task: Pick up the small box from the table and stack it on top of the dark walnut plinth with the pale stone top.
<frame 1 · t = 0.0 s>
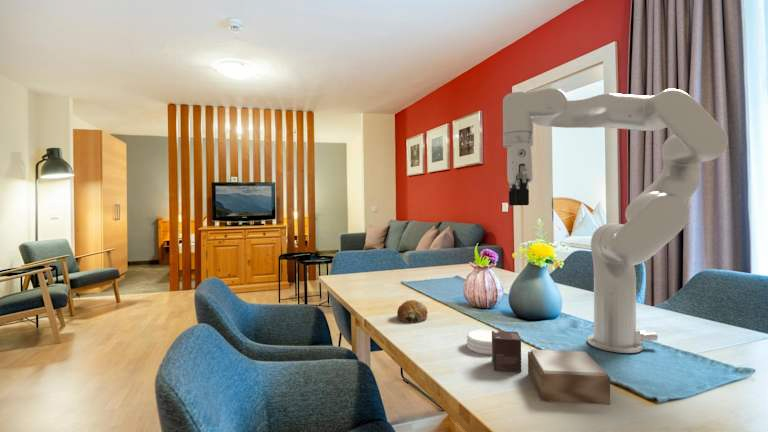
hand: (518, 205, 107), 37 cm above the table, tool pointing down, fingers open, 9 cm apart
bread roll: (412, 320, 132), on the table
coaster: (486, 349, 104), on the table
box: (506, 367, 92), on the table
plinth: (565, 388, 81), on the table
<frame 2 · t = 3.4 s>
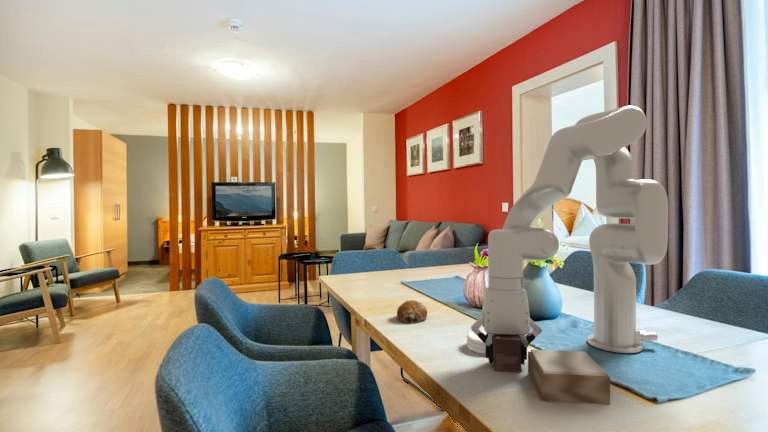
hand: (506, 361, 92), 1 cm above the table, tool pointing down, fingers closed on box, 6 cm apart
box: (506, 367, 92), on the table, touching gripper
everything else where it was.
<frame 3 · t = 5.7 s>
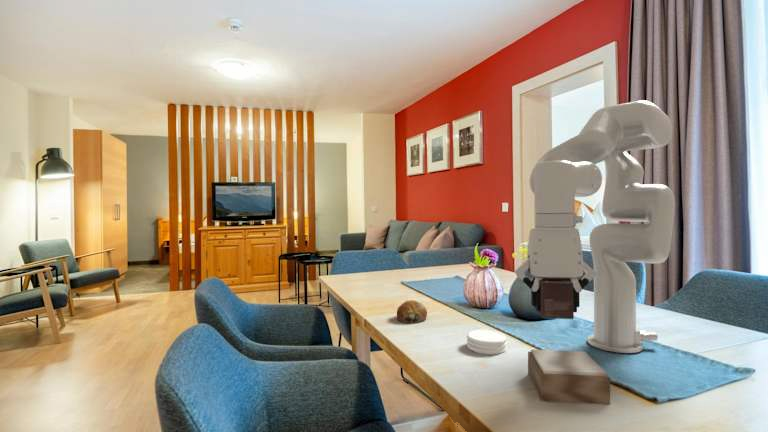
hand: (554, 309, 82), 15 cm above the table, tool pointing down, fingers closed on box, 6 cm apart
box: (554, 316, 82), point 14 cm above the table, touching gripper
everything else where it was.
when the fingers open (8 cm above the table, at t = 7.8 s): box stays where it is, resting on plinth.
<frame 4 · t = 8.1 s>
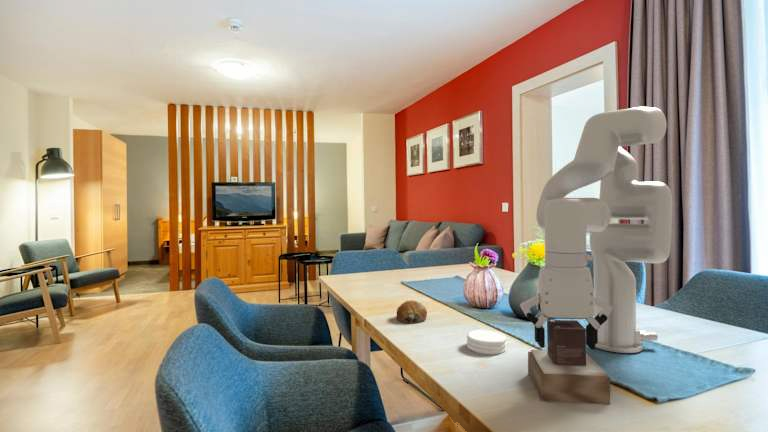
hand: (565, 346, 80), 8 cm above the table, tool pointing down, fingers open, 9 cm apart
box: (565, 361, 81), point 5 cm above the table, touching plinth
everything else where it was.
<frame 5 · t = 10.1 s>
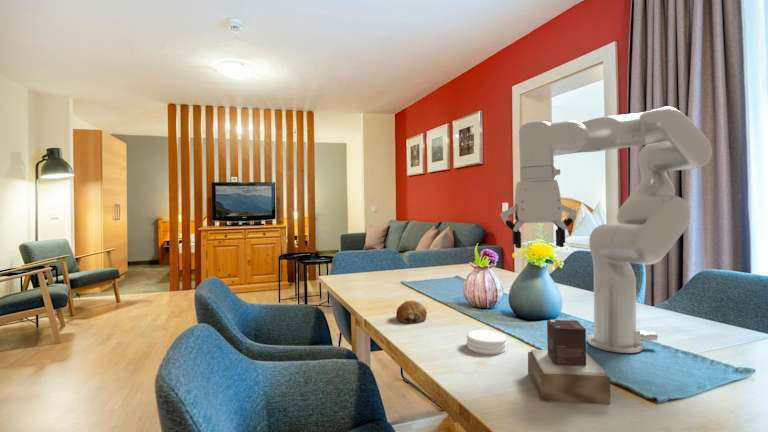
hand: (538, 247, 96), 27 cm above the table, tool pointing down, fingers open, 9 cm apart
nothing on the table moved.
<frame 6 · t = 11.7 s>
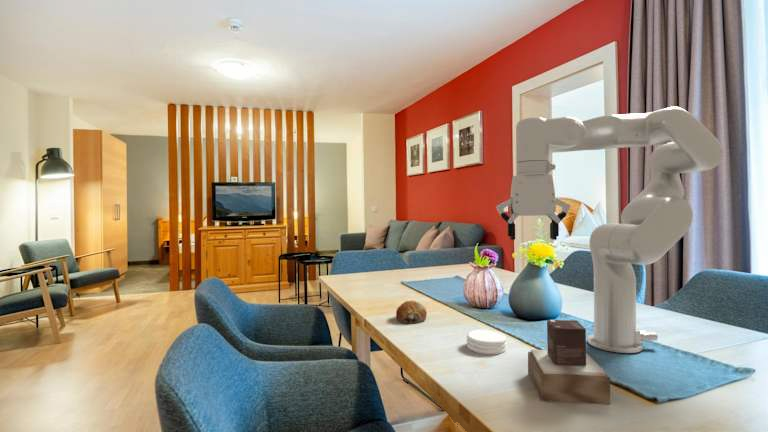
hand: (532, 239, 99), 28 cm above the table, tool pointing down, fingers open, 9 cm apart
nothing on the table moved.
at the end: box inside the target area on the plinth (0.1 cm from its centre), point 5.4 cm above the plinth's base; box tilted 0°; the gripper is holding nothing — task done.
